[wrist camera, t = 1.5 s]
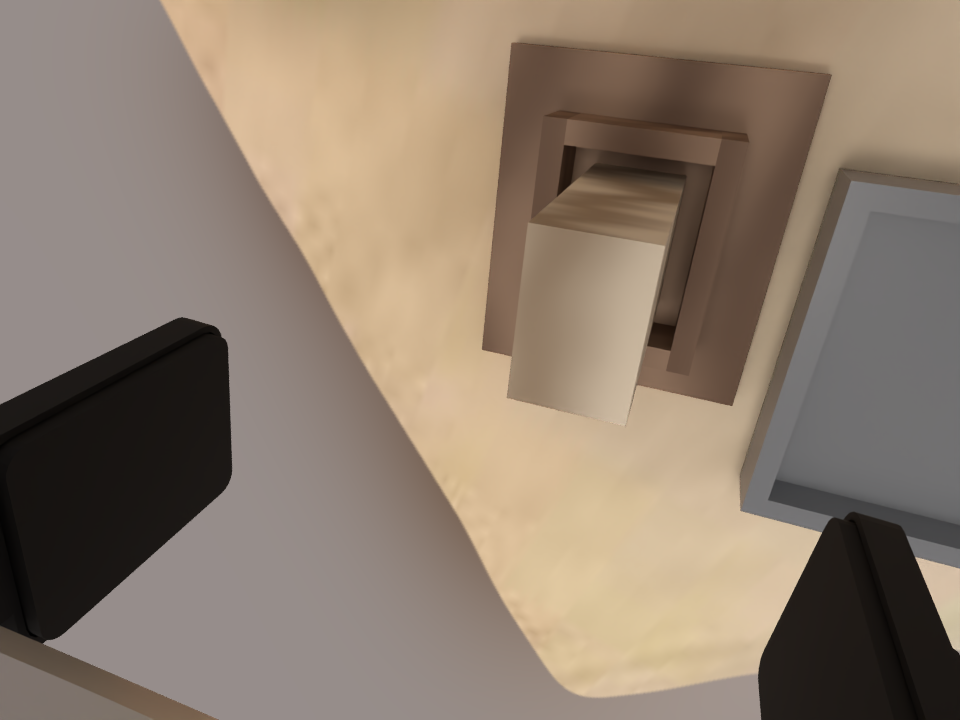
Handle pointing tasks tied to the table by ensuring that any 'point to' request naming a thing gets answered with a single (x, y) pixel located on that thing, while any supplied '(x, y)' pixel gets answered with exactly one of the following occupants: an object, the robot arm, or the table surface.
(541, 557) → the table surface
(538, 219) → the birch block
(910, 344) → the grey tray
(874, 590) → the robot arm
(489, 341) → the walnut stand
